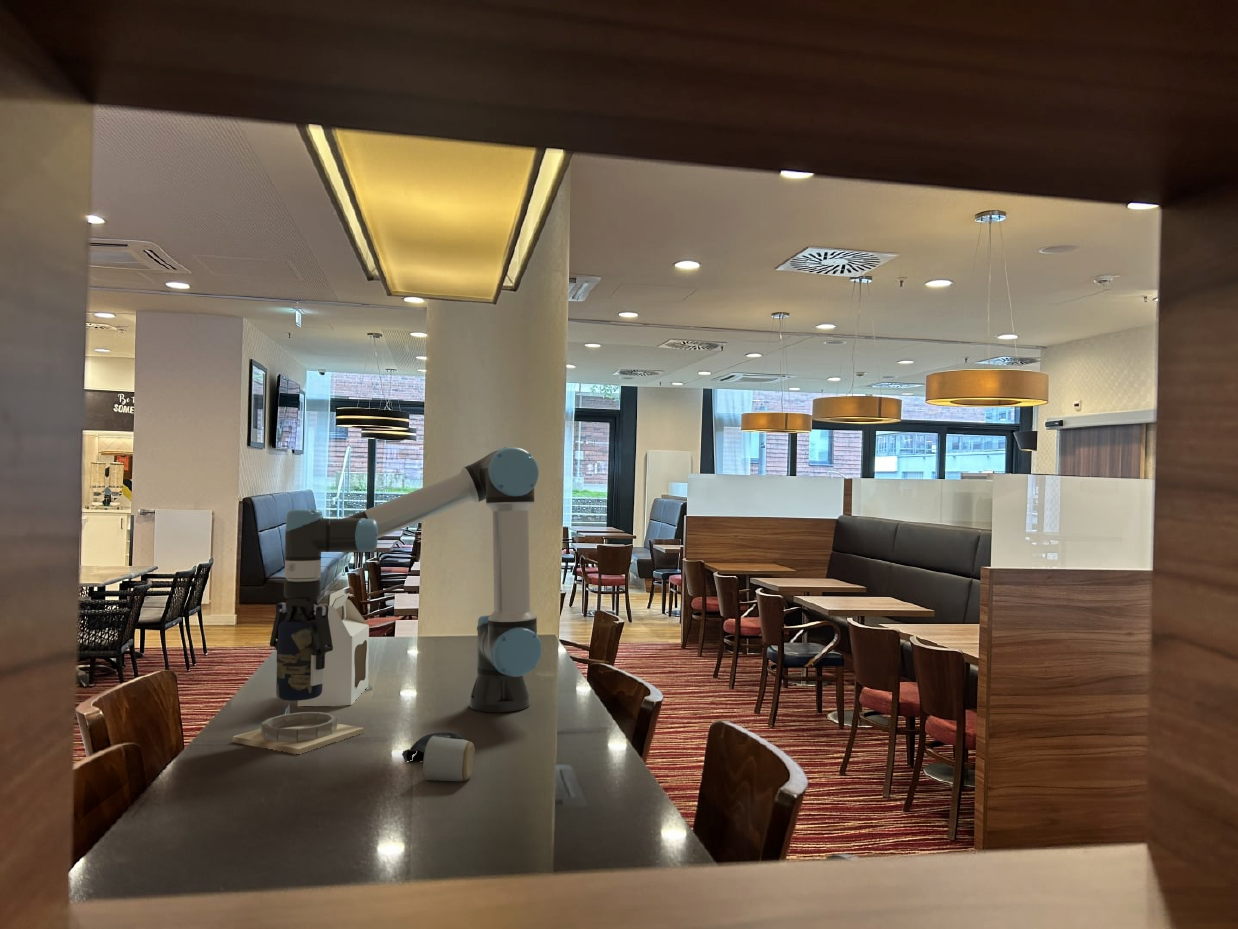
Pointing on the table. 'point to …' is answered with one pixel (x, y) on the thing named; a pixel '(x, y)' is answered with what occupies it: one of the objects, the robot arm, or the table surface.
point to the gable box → (344, 654)
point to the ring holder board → (297, 745)
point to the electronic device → (423, 742)
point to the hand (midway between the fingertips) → (299, 682)
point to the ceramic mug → (448, 759)
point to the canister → (295, 661)
